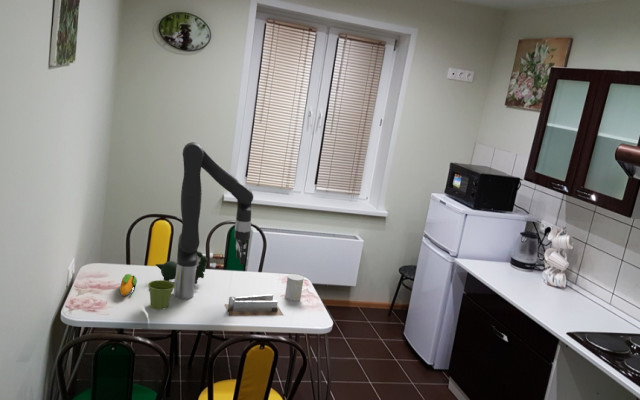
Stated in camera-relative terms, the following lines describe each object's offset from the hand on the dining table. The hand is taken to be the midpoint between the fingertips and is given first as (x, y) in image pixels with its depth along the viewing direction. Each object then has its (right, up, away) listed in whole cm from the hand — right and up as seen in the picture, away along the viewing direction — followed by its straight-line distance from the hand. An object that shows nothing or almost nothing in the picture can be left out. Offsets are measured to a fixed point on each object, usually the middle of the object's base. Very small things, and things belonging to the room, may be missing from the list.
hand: (240, 261), depth 266 cm
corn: (-53, -15, -6) cm, 55 cm away
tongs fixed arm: (+7, -22, -7) cm, 25 cm away
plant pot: (-34, -20, -17) cm, 43 cm away
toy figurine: (-33, -13, +16) cm, 39 cm away
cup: (+25, -22, +16) cm, 36 cm away
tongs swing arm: (+7, -21, -3) cm, 22 cm away
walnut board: (+7, -23, -6) cm, 25 cm away
